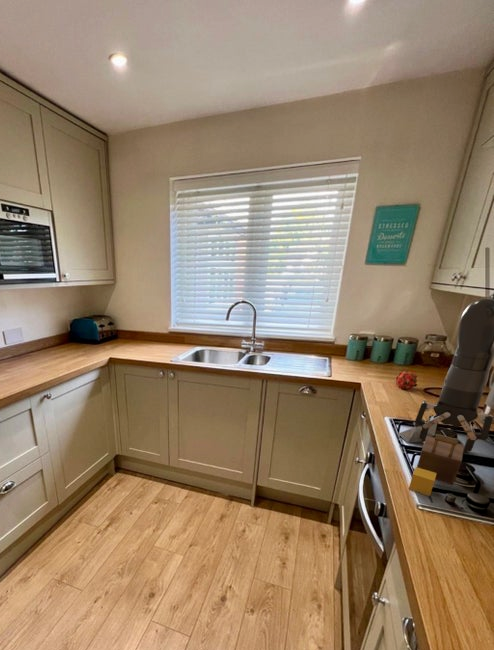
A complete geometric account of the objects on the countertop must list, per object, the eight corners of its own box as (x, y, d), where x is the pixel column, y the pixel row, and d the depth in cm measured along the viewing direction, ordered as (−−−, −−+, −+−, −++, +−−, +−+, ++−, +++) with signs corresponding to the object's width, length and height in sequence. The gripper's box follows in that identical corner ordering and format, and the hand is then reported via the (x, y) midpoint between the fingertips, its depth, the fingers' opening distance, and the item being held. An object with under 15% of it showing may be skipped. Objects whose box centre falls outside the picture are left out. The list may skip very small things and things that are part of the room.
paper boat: (396, 439, 105) (389, 421, 112) (403, 453, 107) (396, 434, 114) (440, 427, 98) (431, 409, 106) (447, 442, 101) (437, 423, 108)
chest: (453, 485, 84) (460, 463, 82) (415, 473, 89) (421, 452, 87) (455, 468, 91) (463, 447, 89) (420, 458, 96) (426, 438, 94)
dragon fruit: (405, 387, 161) (404, 397, 153) (391, 375, 162) (389, 385, 154) (421, 376, 156) (421, 386, 147) (406, 364, 157) (405, 373, 148)
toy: (431, 487, 83) (436, 473, 82) (429, 496, 80) (434, 480, 78) (411, 481, 86) (415, 466, 84) (408, 489, 83) (412, 474, 81)
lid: (460, 464, 81) (467, 444, 79) (420, 453, 86) (426, 434, 84) (463, 447, 89) (469, 429, 87) (426, 438, 94) (431, 421, 92)
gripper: (503, 388, 76) (479, 449, 82) (429, 376, 85) (412, 432, 91) (505, 396, 71) (479, 461, 77) (425, 382, 80) (408, 442, 85)
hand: (443, 445), depth 84 cm, fingers open, 8 cm apart
